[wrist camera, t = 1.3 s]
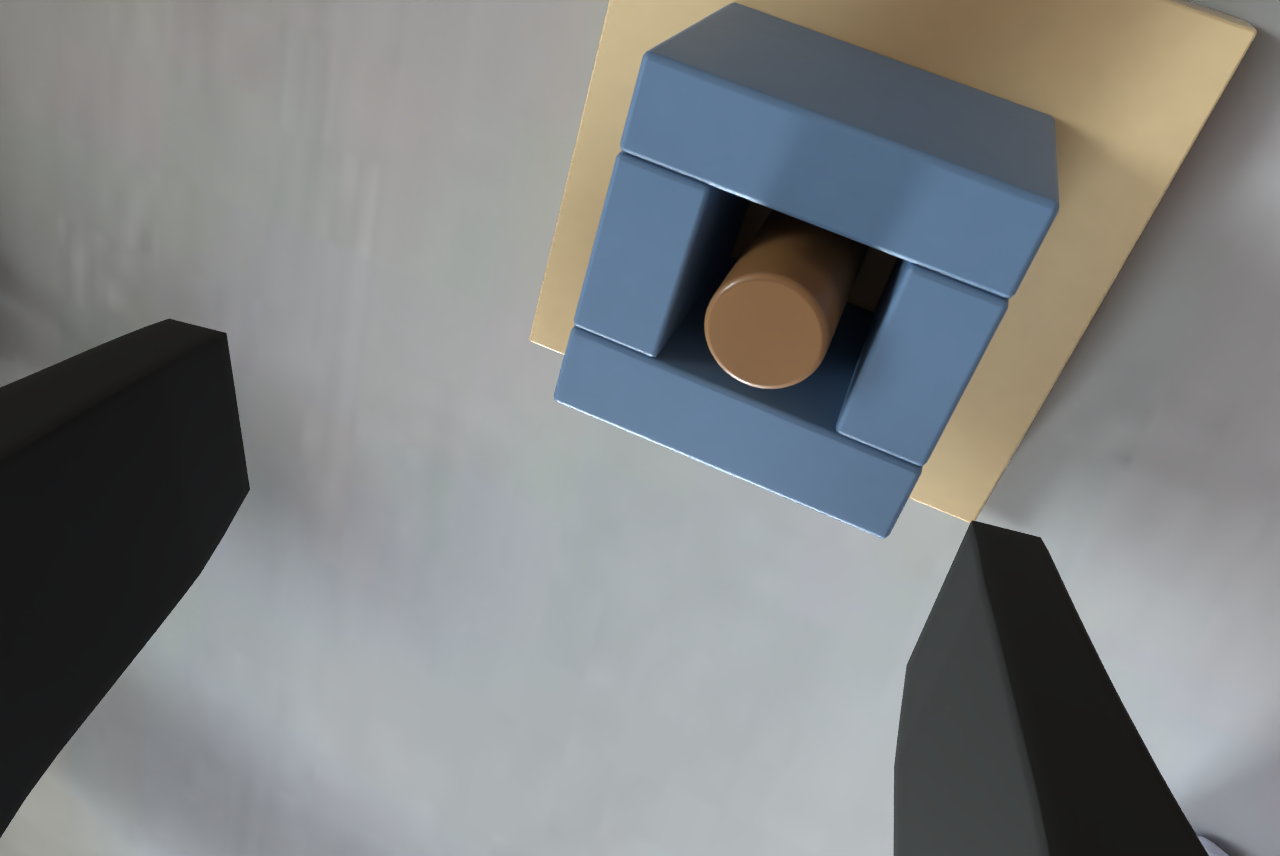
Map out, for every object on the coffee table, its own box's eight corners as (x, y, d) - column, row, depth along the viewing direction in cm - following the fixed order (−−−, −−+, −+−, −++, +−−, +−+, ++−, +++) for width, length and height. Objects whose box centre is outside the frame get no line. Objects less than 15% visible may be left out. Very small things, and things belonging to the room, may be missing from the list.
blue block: (1057, 116, 16) (1063, 205, 12) (916, 401, 18) (886, 543, 15) (731, -1, 16) (641, 49, 13) (643, 291, 19) (550, 402, 15)
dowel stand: (1250, 21, 15) (1348, 115, 10) (975, 502, 20) (955, 716, 15) (666, -177, 16) (508, -178, 11) (544, 325, 21) (398, 472, 16)
